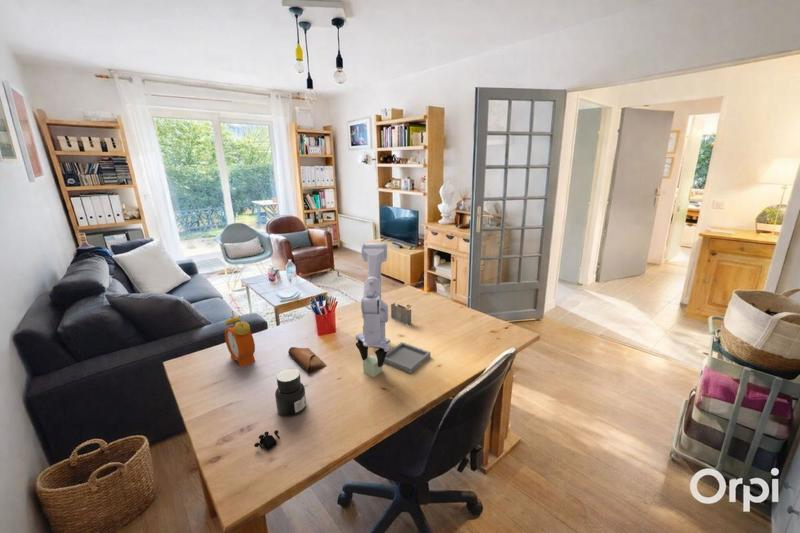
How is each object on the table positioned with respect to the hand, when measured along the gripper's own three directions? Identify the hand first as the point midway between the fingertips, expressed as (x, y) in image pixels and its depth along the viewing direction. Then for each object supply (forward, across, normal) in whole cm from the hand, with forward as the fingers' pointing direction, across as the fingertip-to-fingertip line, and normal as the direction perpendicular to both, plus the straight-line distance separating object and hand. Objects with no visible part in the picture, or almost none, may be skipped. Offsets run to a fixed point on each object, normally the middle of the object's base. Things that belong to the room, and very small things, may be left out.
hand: (372, 362), depth 126 cm
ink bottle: (+4, -8, -30) cm, 31 cm away
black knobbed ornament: (+4, -1, -43) cm, 43 cm away
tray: (+4, +5, +14) cm, 15 cm away
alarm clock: (+4, -47, -24) cm, 53 cm away
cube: (+4, 0, 0) cm, 4 cm away
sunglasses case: (+5, -26, -9) cm, 28 cm away
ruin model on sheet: (+4, -17, +41) cm, 45 cm away
